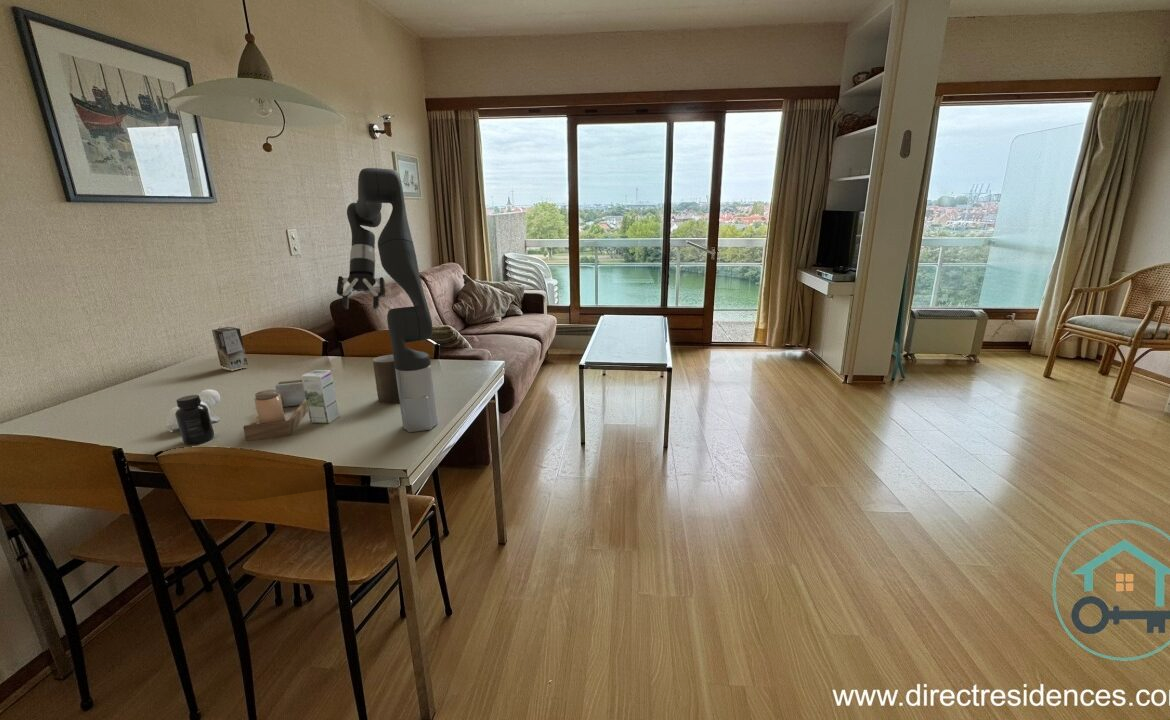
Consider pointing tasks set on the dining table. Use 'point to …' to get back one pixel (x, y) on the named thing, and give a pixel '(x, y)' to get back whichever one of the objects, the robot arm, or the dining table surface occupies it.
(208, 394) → the white rounded figurine
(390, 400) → the pillar candle
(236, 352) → the coffee box
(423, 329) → the robot arm
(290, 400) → the grey box
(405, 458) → the dining table surface
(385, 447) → the dining table surface
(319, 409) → the syrup box
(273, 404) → the jar
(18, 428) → the dining table surface
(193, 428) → the supplement bottle
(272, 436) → the wooden tray
